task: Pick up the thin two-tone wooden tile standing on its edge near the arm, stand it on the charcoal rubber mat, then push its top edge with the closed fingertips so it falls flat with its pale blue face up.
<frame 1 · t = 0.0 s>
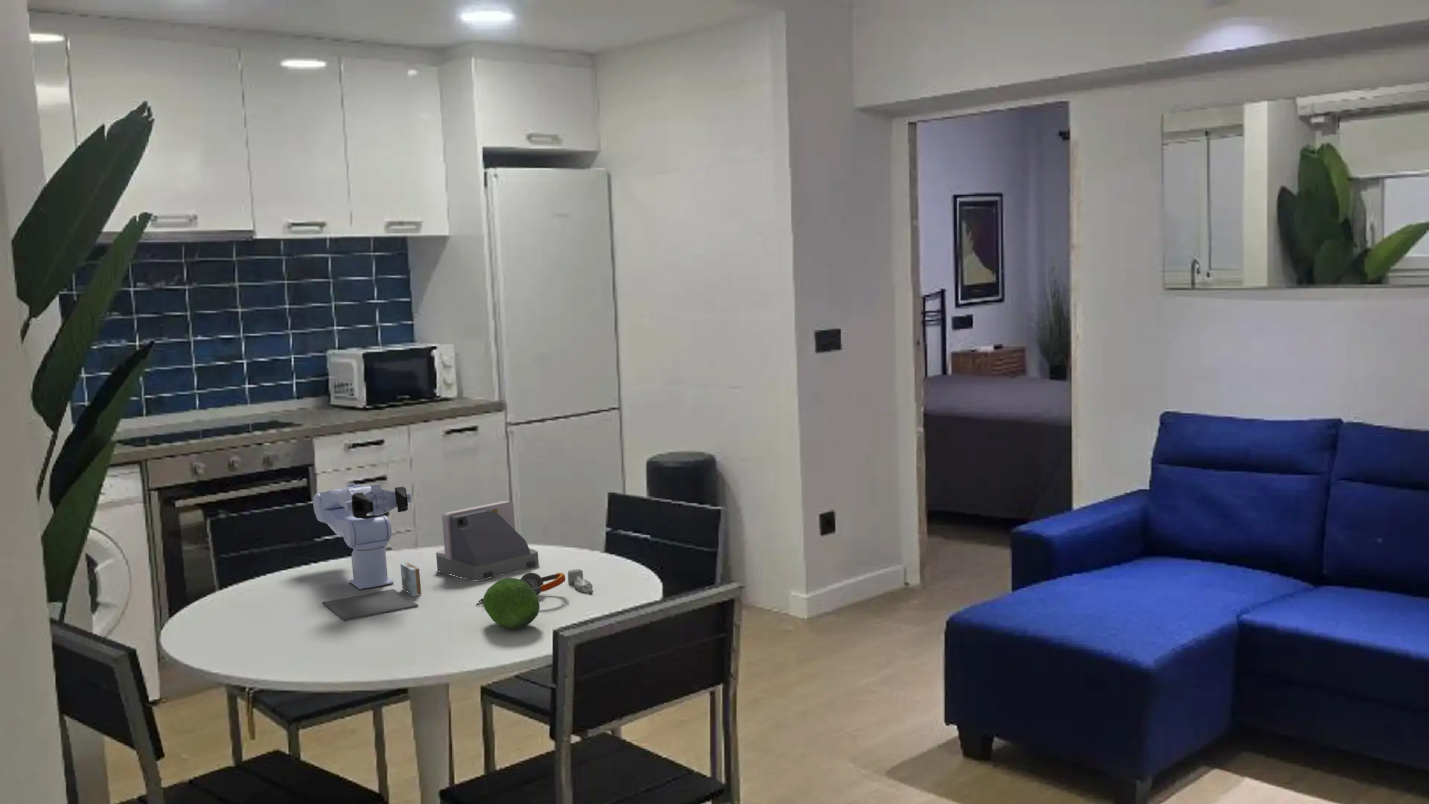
hand: (388, 503, 272), 22 cm above the table, tool horizontal, fingers open, 7 cm apart
mat: (369, 605, 272), on the table
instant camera: (488, 570, 300), on the table
tile: (411, 592, 281), on the table
figurine: (582, 590, 276), on the table
headphones: (522, 600, 270), on the table
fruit: (511, 626, 249), on the table
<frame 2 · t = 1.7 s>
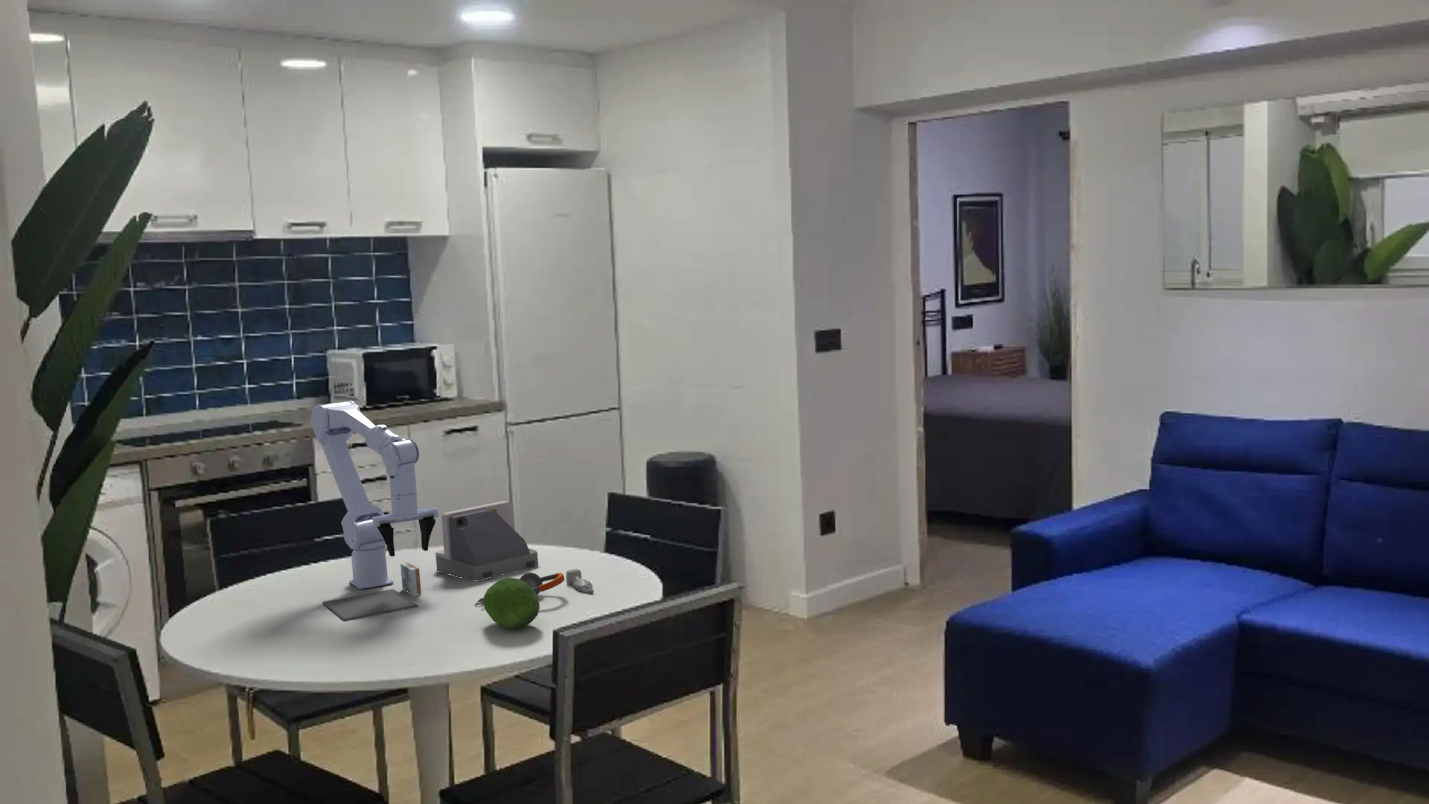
hand: (408, 552, 281), 9 cm above the table, tool pointing down, fingers open, 7 cm apart
nothing on the table moved.
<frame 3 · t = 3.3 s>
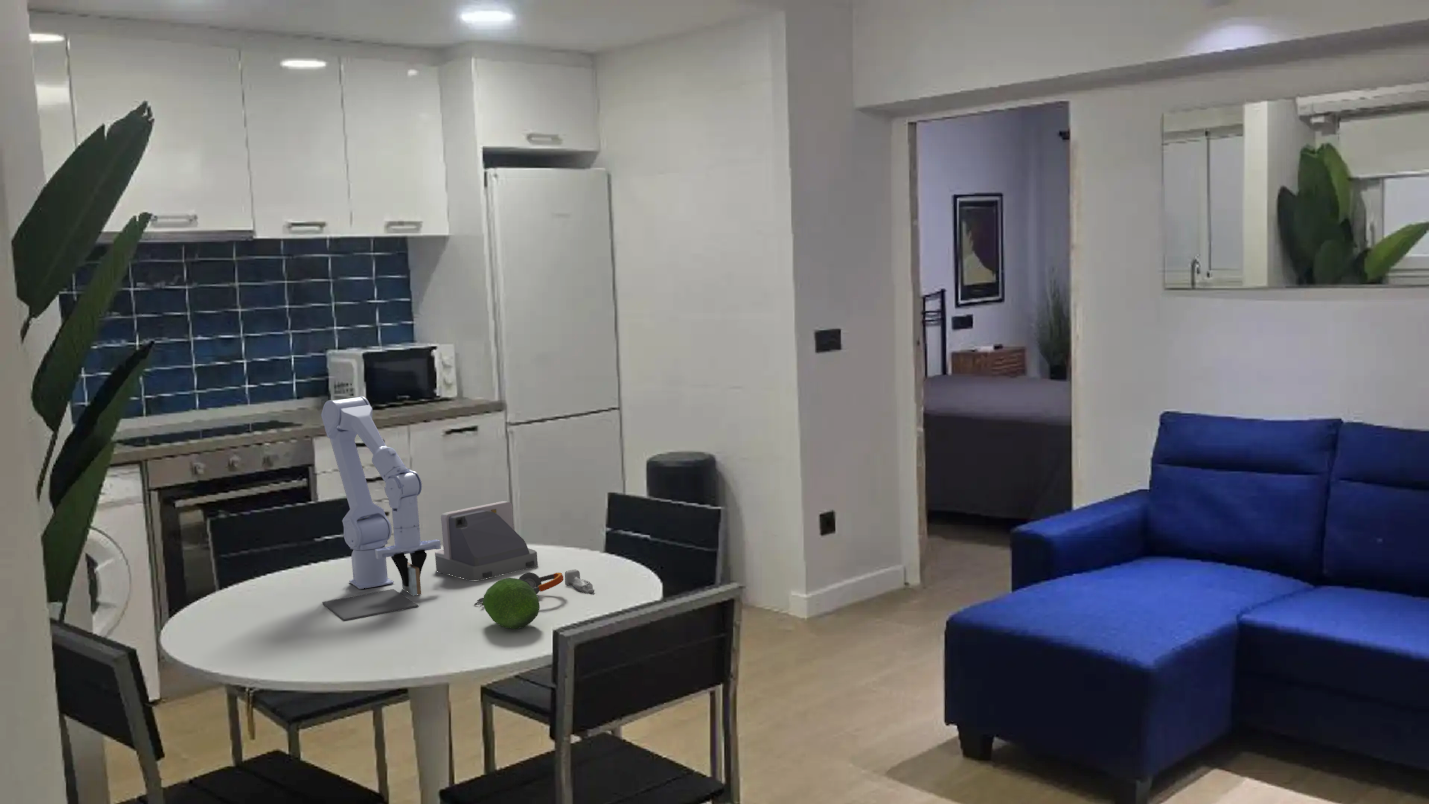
hand: (411, 584, 281), 2 cm above the table, tool pointing down, fingers closed on tile, 2 cm apart
tile: (411, 591, 281), on the table, touching gripper
everything else where it was.
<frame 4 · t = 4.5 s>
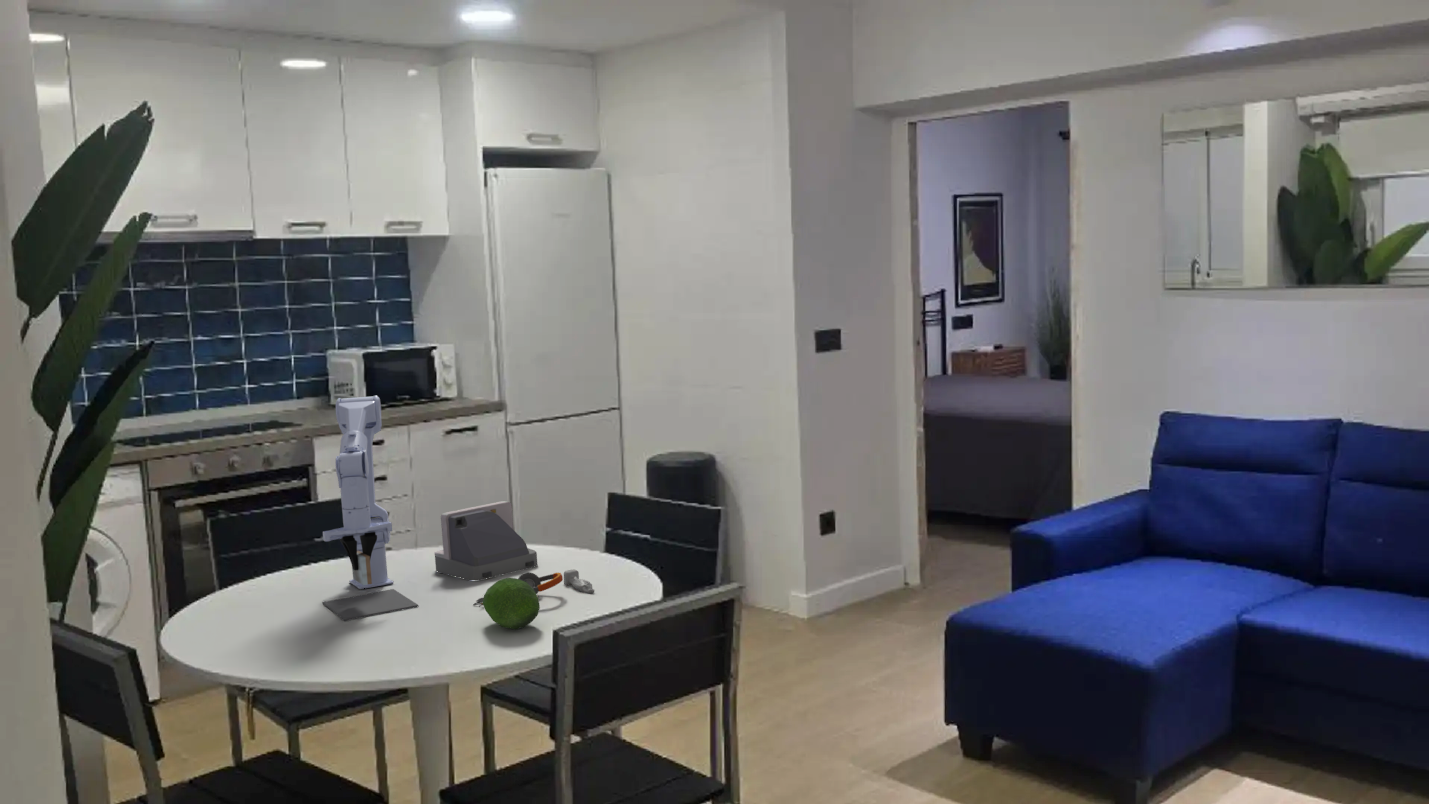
hand: (361, 568, 270), 8 cm above the table, tool pointing down, fingers closed on tile
tile: (362, 581, 270), point 6 cm above the table, touching gripper
everything else where it was.
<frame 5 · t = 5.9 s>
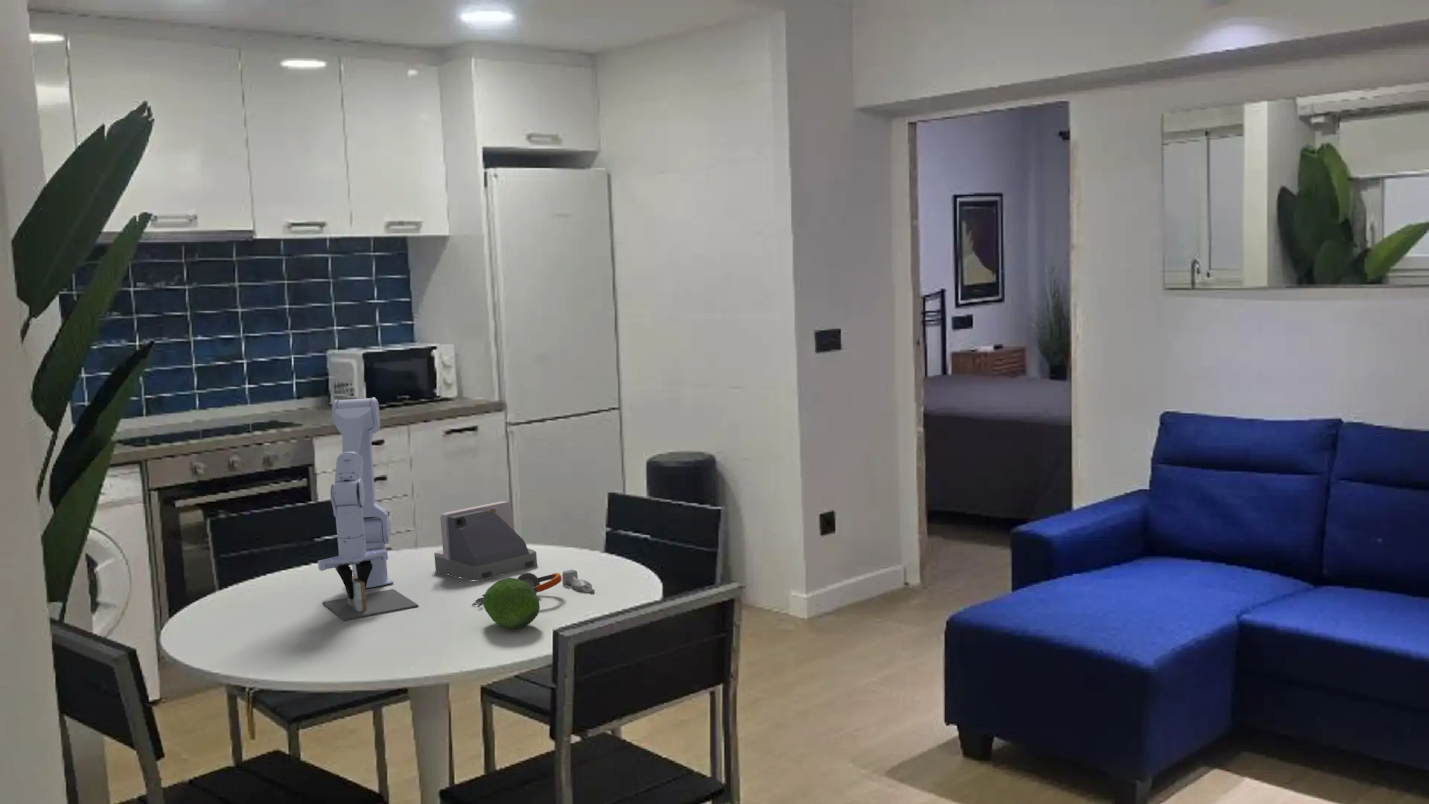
hand: (356, 597, 269), 3 cm above the table, tool pointing down, fingers closed on tile, 2 cm apart
tile: (357, 607, 269), resting on mat, touching gripper
everything else where it was.
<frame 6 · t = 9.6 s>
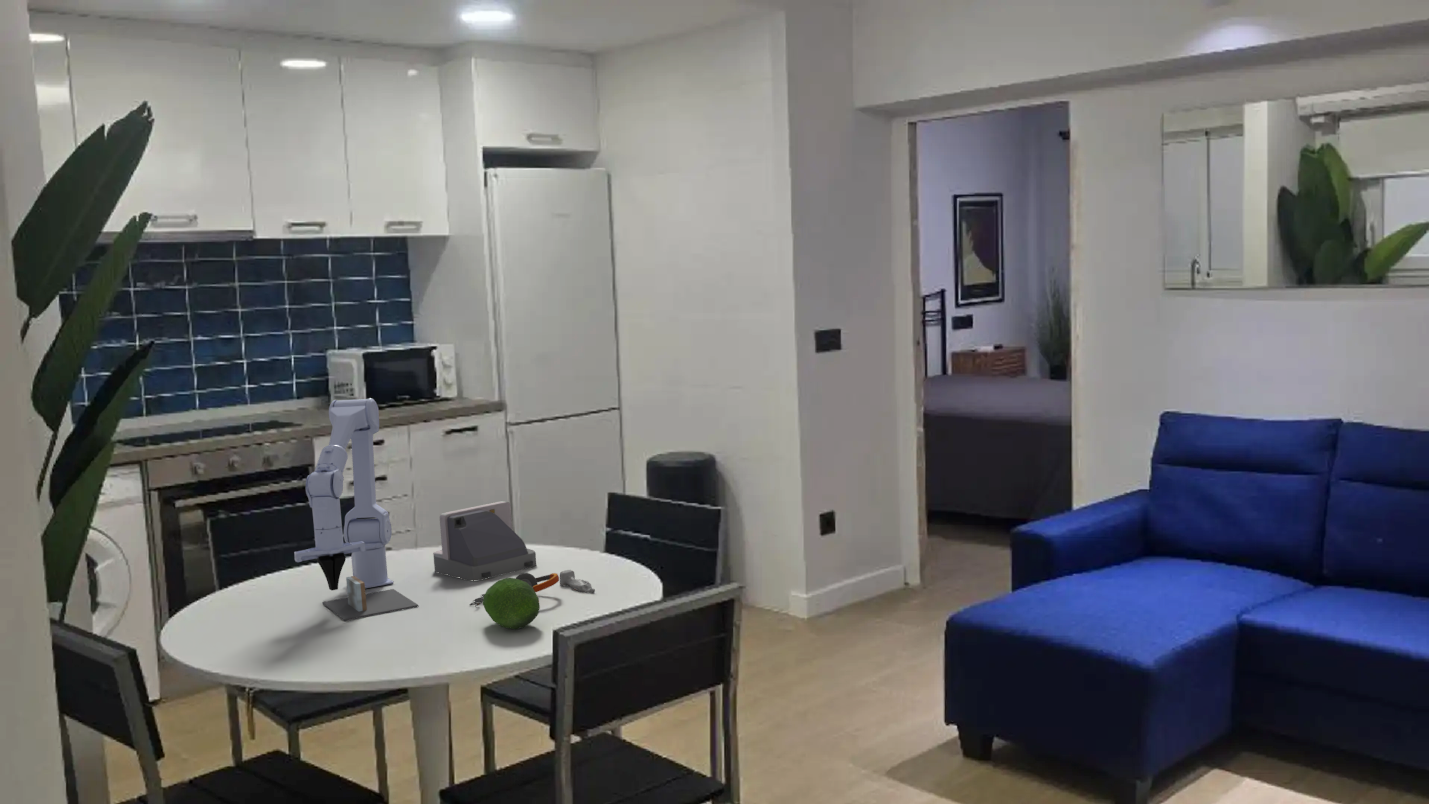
hand: (333, 589, 266), 5 cm above the table, tool pointing down, fingers closed
tile: (357, 607, 269), resting on mat
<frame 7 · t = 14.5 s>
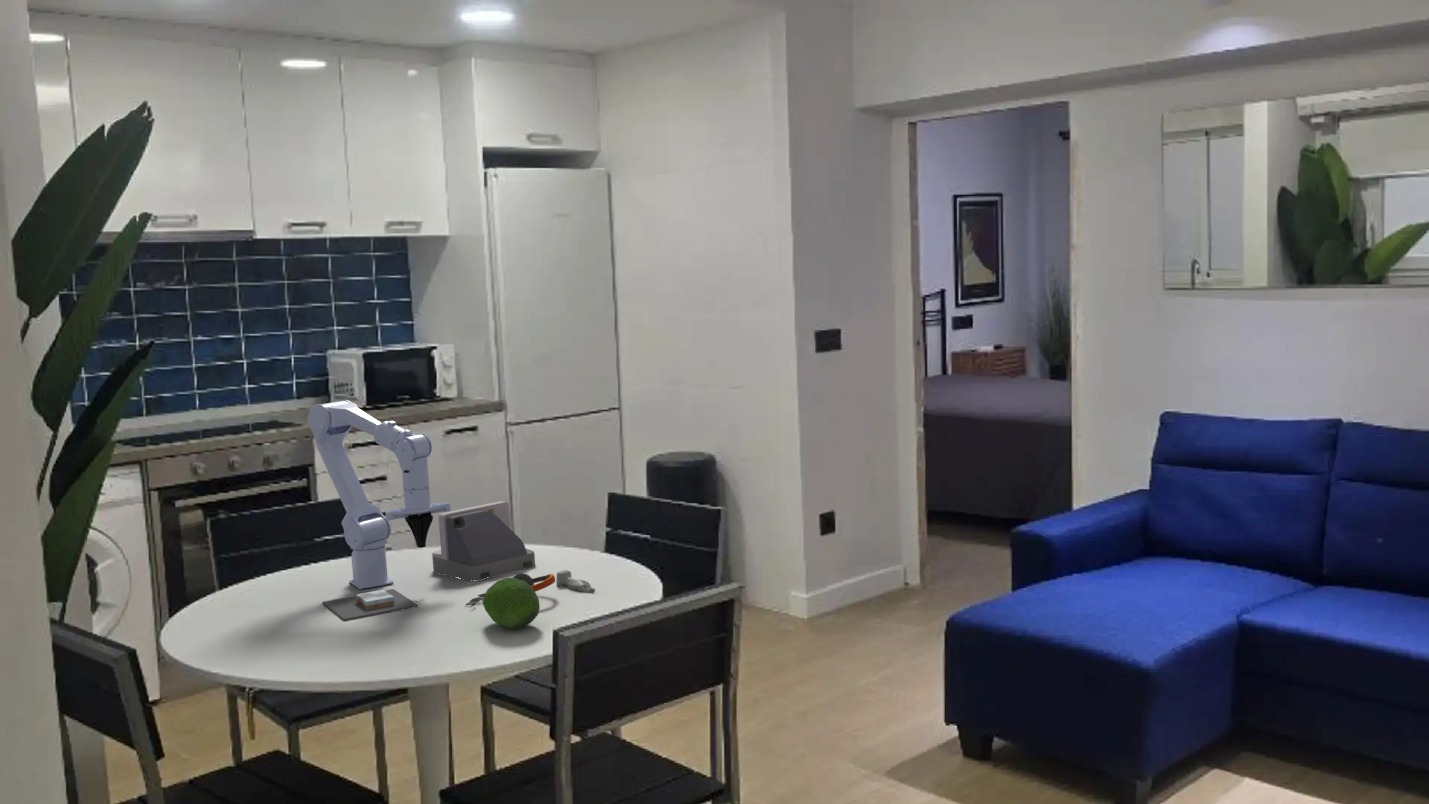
hand: (421, 546, 282), 10 cm above the table, tool pointing down, fingers closed
tile: (361, 602, 269), point 1 cm above the table, tilted 90°, touching mat
at the end: tile tilted 90°; tile inside the target area on the mat (2.4 cm from its centre), point 1.3 cm above the mat's base; the gripper is holding nothing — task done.
